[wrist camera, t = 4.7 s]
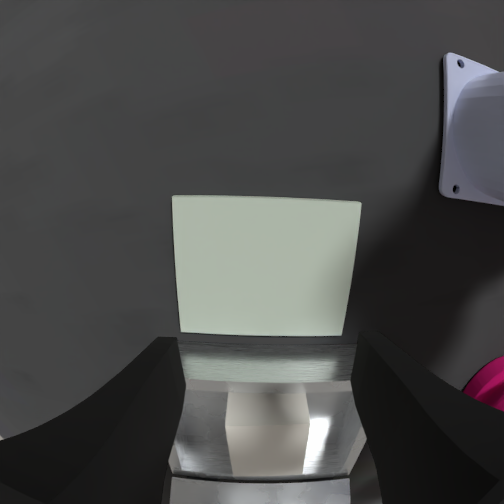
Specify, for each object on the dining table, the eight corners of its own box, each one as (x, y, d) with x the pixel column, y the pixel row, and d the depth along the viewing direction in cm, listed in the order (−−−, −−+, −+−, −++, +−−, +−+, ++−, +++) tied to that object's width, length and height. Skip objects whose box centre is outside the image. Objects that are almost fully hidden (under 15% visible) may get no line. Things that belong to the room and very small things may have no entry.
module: (301, 366, 18) (310, 423, 14) (296, 423, 20) (302, 474, 16) (230, 368, 18) (224, 425, 14) (236, 424, 20) (233, 476, 16)
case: (375, 343, 18) (403, 399, 13) (333, 464, 23) (341, 510, 18) (159, 339, 18) (134, 397, 13) (184, 463, 23) (176, 509, 18)
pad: (359, 201, 15) (361, 203, 15) (339, 331, 18) (341, 335, 17) (173, 195, 15) (172, 196, 15) (182, 327, 18) (181, 331, 17)
